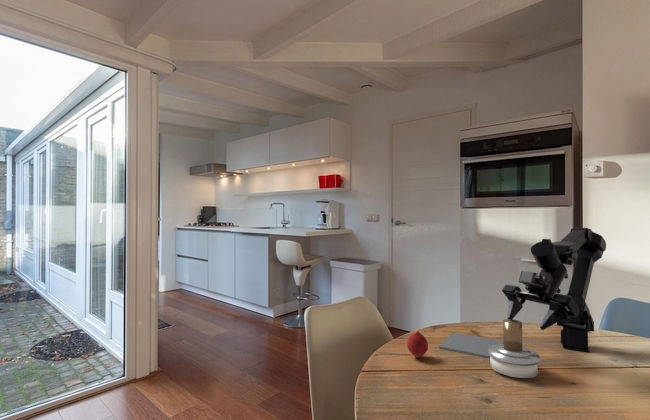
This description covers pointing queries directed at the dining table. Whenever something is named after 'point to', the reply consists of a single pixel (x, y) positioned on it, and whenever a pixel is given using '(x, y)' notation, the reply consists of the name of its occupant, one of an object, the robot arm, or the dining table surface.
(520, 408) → the dining table surface
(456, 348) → the mat
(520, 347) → the cylinder on round base
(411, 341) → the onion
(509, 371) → the white rounded piece
